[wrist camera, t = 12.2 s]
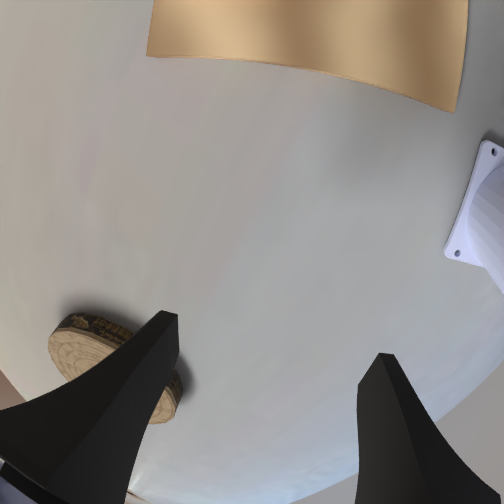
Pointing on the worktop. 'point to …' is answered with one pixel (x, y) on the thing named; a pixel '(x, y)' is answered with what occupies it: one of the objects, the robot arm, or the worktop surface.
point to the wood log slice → (101, 355)
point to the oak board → (327, 39)
